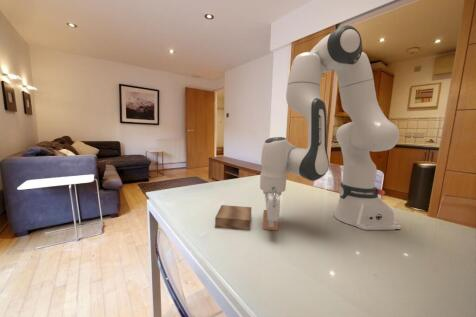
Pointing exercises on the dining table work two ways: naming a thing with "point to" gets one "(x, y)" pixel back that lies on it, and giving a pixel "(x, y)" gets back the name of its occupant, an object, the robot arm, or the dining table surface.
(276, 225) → the terracotta cube
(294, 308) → the dining table surface
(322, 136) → the robot arm
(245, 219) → the walnut board
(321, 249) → the dining table surface
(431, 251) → the dining table surface
